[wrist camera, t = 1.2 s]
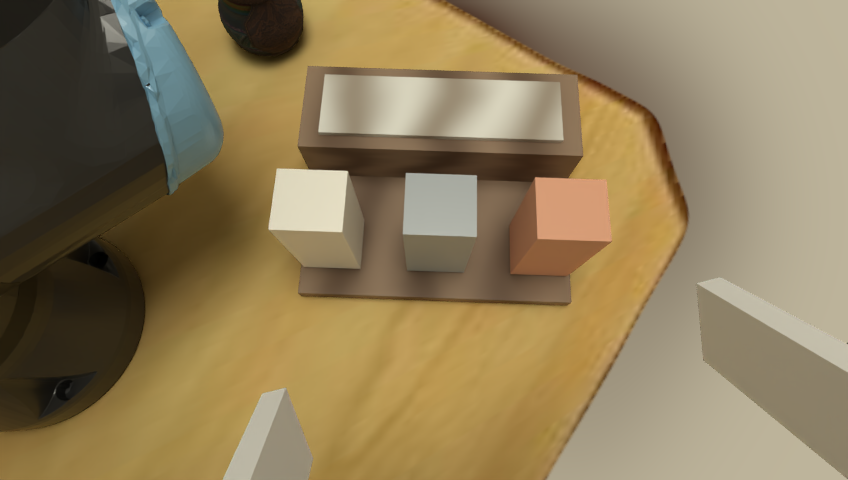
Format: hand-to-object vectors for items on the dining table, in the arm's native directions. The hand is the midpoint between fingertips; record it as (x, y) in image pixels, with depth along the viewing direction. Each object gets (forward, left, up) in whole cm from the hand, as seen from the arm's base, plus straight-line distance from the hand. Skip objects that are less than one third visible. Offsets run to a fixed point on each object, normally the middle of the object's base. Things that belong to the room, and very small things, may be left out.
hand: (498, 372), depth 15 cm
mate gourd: (-18, +31, -22) cm, 42 cm away
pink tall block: (+6, +10, -20) cm, 24 cm away
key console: (-2, +15, -22) cm, 26 cm away
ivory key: (-10, +10, -20) cm, 25 cm away
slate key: (-2, +10, -20) cm, 23 cm away
